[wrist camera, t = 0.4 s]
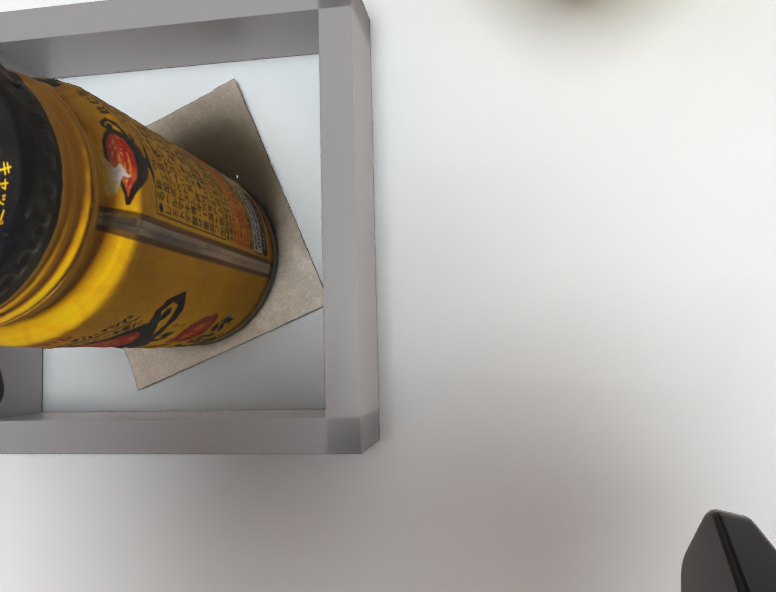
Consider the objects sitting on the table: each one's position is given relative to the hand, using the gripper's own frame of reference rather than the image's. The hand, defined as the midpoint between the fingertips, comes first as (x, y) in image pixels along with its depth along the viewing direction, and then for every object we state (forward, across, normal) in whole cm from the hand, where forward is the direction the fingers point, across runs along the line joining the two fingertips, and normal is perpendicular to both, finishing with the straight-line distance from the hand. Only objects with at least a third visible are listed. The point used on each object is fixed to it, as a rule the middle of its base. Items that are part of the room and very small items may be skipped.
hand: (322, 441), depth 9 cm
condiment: (+14, +9, +6) cm, 17 cm away
